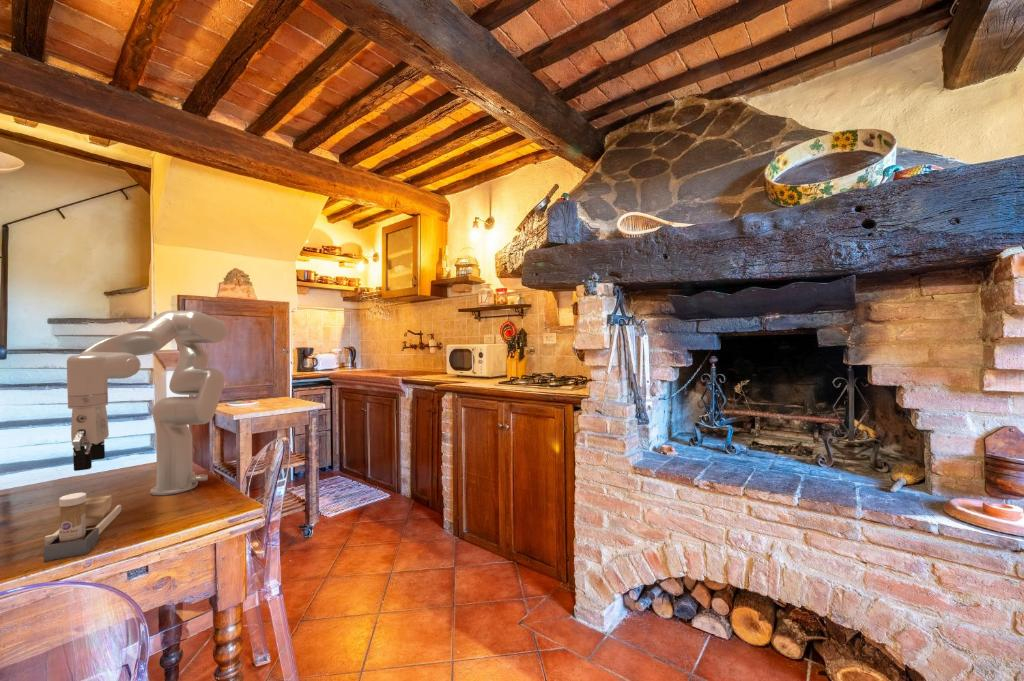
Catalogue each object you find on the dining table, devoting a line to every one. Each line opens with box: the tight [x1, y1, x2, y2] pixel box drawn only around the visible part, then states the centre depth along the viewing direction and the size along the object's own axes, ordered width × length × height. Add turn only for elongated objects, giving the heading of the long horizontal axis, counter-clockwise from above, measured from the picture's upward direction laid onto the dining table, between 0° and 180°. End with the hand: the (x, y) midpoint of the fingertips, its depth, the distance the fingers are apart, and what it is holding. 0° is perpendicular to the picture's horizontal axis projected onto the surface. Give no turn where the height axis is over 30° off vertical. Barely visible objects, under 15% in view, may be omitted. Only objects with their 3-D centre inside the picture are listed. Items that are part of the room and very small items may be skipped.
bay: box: [44, 504, 122, 546], centre depth 112 cm, size 9×21×3 cm, turn 29°
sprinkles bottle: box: [58, 492, 87, 543], centre depth 101 cm, size 5×5×14 cm
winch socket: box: [43, 527, 100, 562], centre depth 100 cm, size 7×7×4 cm
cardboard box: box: [85, 494, 112, 528], centre depth 116 cm, size 6×6×6 cm
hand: (90, 464), depth 111 cm, fingers open, 9 cm apart
